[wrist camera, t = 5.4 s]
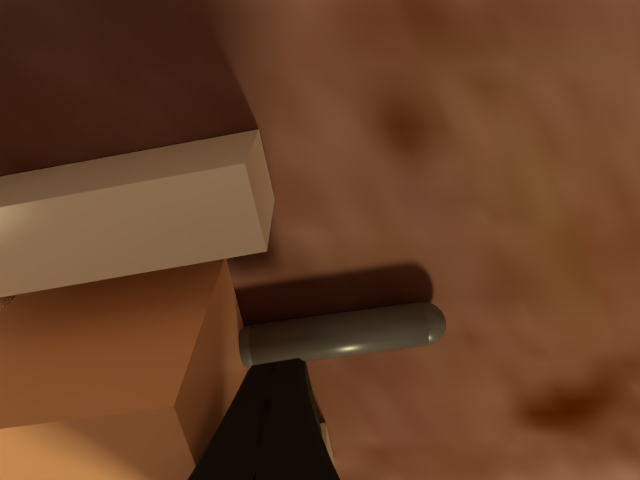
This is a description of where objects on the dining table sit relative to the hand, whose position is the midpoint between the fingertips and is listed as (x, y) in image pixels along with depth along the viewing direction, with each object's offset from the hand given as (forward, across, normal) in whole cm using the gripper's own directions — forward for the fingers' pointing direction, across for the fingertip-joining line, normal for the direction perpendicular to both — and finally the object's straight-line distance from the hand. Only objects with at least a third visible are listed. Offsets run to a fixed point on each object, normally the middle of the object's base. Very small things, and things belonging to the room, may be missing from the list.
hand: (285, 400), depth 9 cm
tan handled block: (+2, +1, 0) cm, 3 cm away
